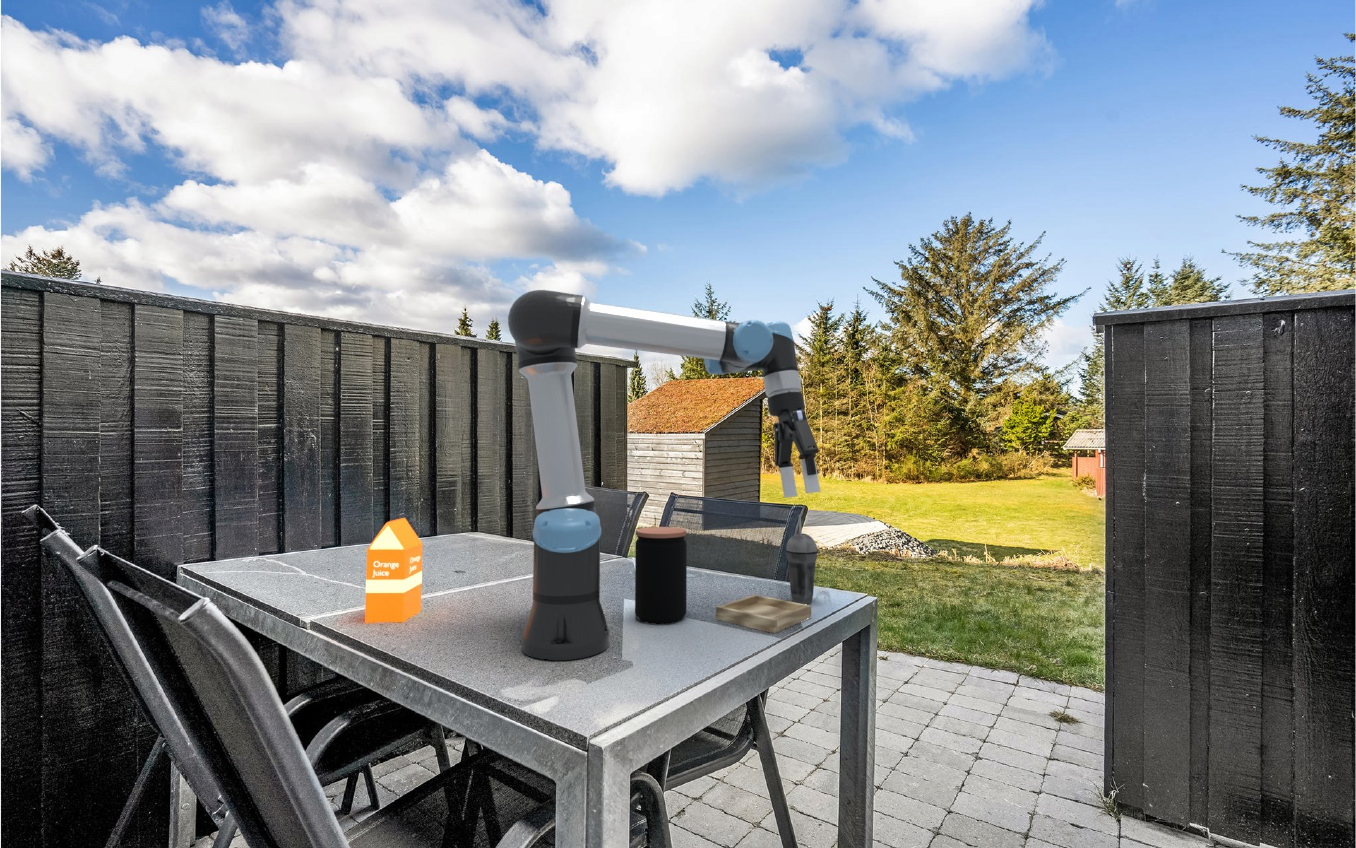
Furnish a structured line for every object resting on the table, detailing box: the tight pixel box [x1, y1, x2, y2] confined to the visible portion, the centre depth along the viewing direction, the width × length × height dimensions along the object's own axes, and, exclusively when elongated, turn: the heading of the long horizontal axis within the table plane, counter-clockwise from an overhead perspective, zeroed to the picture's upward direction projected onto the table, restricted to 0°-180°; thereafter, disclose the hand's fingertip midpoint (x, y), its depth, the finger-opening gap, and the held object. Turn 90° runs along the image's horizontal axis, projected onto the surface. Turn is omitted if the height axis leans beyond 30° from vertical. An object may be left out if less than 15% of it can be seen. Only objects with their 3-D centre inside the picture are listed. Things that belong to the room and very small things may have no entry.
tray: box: [715, 594, 812, 634], centre depth 120 cm, size 14×14×2 cm
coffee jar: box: [634, 526, 688, 625], centre depth 121 cm, size 11×11×18 cm
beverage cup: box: [785, 514, 819, 605], centre depth 134 cm, size 7×7×20 cm
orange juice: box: [364, 517, 423, 624], centre depth 121 cm, size 8×9×20 cm
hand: (801, 495), depth 120 cm, fingers open, 13 cm apart
